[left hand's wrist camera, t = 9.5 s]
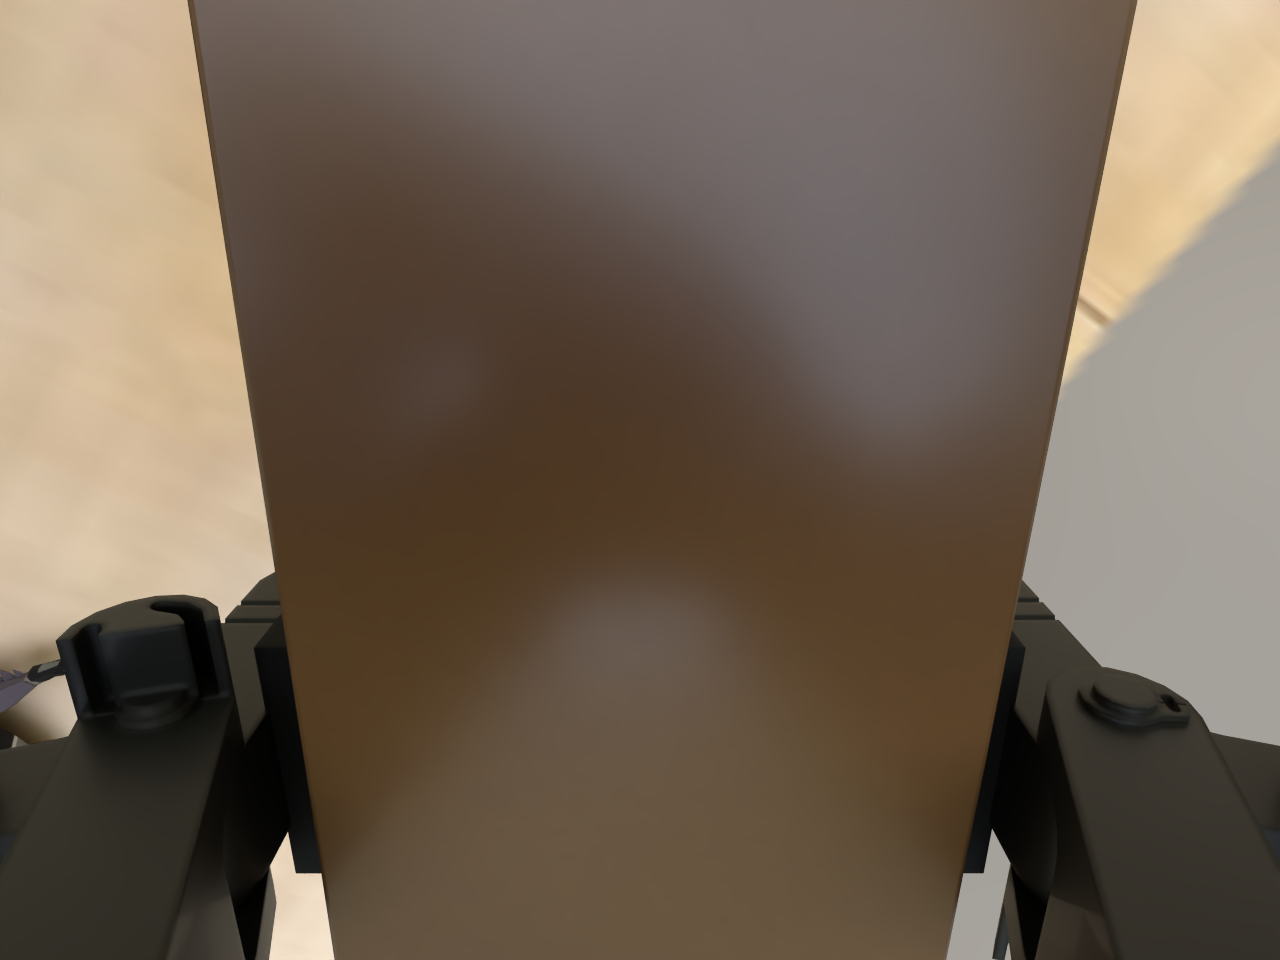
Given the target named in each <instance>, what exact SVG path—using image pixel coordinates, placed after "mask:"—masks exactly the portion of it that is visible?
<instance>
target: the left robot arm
mask: <svg viewBox="0 0 1280 960" xmlns="http://www.w3.org/2000/svg"><path fill="white" fill-rule="evenodd" d="M56 644H57V647H58V651H59V654H60V658H61V661H62V665H63V668H64V672H65V675H66V679H67V682H68V686H69V690H70V693H71V697H72V700H73V704H74V707H75V711H76V714H77V718H78V719H77V721H76V723H75V725H74V727H73V729H72V731H71V732H70V734H69V736H68V737H64V738H60V739H55V740H50V741H45V742H39V743H34V744H29V745H23V746H18V747H13V748H8V749H2V750H0V960H269V955H270V947H271V940H272V932H273V925H274V917H275V909H276V897H275V890H274V884H273V879H272V874H271V869H270V865H271V863H272V861H273V859H274V857H275V855H276V853H277V851H278V849H279V847H280V846H281V844H282V842H283V840H284V838H285V836H286V834H287V832H288V834H289V839H290V844H291V850H292V855H293V860H294V866H295V871H296V873H321V867H320V860H319V854H318V847H317V841H316V834H315V828H314V821H313V815H312V808H311V802H310V795H309V789H308V782H307V776H306V769H305V763H304V756H303V750H302V743H301V737H300V730H299V724H298V717H297V710H296V704H295V697H294V691H293V684H292V678H291V671H290V665H289V658H288V652H287V645H286V639H285V632H284V626H283V619H282V613H281V606H280V600H279V593H278V587H277V580H276V574H275V572H274V573H272V574H271V575H269V576H267V577H265V578H263V579H262V580H260V581H259V582H258V583H257V584H256V586H255V587H254V588H253V589H252V590H251V591H250V592H249V593H248V594H247V595H246V596H245V598H244V599H243V600H242V601H241V605H237V606H236V607H235V609H234V610H233V611H232V612H231V613H230V614H229V615H228V616H227V617H226V618H225V623H221V621H220V616H219V612H218V607H217V606H215V605H214V604H212V603H211V602H210V601H208V600H207V599H205V598H199V597H194V596H188V595H166V596H153V597H148V598H143V599H138V600H133V601H128V602H124V603H121V604H118V605H116V606H113V607H110V608H107V609H104V610H101V611H98V612H96V613H94V614H92V615H90V616H88V617H87V618H85V619H83V620H81V621H79V622H77V623H76V624H74V625H72V626H71V627H70V628H69V629H68V630H66V631H65V632H64V633H63V634H62V635H61V636H60V637H59V638H58V639H57V640H56ZM992 829H993V831H994V833H995V835H996V836H997V838H998V840H999V842H1000V844H1001V846H1002V848H1003V850H1004V851H1005V853H1006V855H1007V857H1008V859H1009V861H1010V863H1011V864H1010V869H1009V874H1008V879H1007V884H1006V889H1005V894H1004V899H1003V904H1002V909H1001V914H1000V918H999V924H998V928H997V933H996V938H995V944H994V951H993V957H992V958H993V959H996V960H1004V959H1005V954H1006V950H1007V945H1008V943H1009V945H1010V953H1011V960H1280V746H1277V745H1272V744H1267V743H1261V742H1256V741H1250V740H1245V739H1240V738H1235V737H1229V736H1224V735H1220V734H1216V733H1212V732H1210V731H1209V729H1208V727H1207V726H1206V724H1205V722H1204V720H1203V718H1202V717H1201V715H1200V714H1199V713H1198V712H1197V711H1196V710H1195V709H1194V707H1193V706H1192V705H1191V704H1190V703H1189V702H1188V701H1187V700H1186V699H1184V698H1183V697H1181V696H1179V695H1178V694H1176V693H1175V692H1173V691H1172V690H1170V689H1169V688H1167V687H1166V686H1164V685H1161V684H1159V683H1157V682H1154V681H1152V680H1149V679H1147V678H1144V677H1142V676H1140V675H1137V674H1133V673H1129V672H1125V671H1120V670H1116V669H1112V668H1107V667H1101V665H1100V664H1099V663H1098V662H1097V661H1096V660H1095V659H1094V658H1093V657H1092V656H1091V655H1090V653H1089V652H1088V651H1087V650H1086V649H1085V648H1084V647H1083V646H1082V645H1081V644H1080V643H1079V641H1078V640H1077V639H1076V638H1075V637H1074V636H1073V635H1072V634H1071V633H1070V632H1069V631H1068V630H1067V628H1066V627H1065V626H1064V625H1063V624H1062V623H1061V622H1060V621H1059V620H1055V615H1054V614H1053V613H1052V612H1051V611H1050V610H1049V609H1048V608H1047V607H1046V605H1045V604H1044V603H1042V602H1039V598H1038V597H1037V596H1036V595H1035V593H1034V592H1033V591H1032V590H1031V589H1030V588H1029V587H1028V586H1027V585H1026V584H1025V583H1024V581H1023V580H1022V581H1021V586H1020V591H1019V596H1018V601H1017V606H1016V611H1015V616H1014V621H1013V626H1012V631H1011V637H1010V642H1009V647H1008V652H1007V657H1006V662H1005V667H1004V672H1003V677H1002V682H1001V687H1000V692H999V697H998V702H997V707H996V712H995V717H994V722H993V727H992V732H991V737H990V742H989V747H988V752H987V757H986V762H985V767H984V772H983V777H982V782H981V787H980V792H979V797H978V802H977V807H976V812H975V817H974V822H973V827H972V832H971V837H970V842H969V847H968V852H967V857H966V862H965V867H964V872H963V873H984V868H985V863H986V857H987V852H988V847H989V841H990V836H991V831H992Z"/></svg>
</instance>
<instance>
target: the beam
mask: <svg viewBox="0 0 1280 960" xmlns="http://www.w3.org/2000/svg"><path fill="white" fill-rule="evenodd" d="M1136 5H1137V0H188V6H189V13H190V19H191V26H192V32H193V39H194V45H195V52H196V58H197V65H198V72H199V78H200V85H201V91H202V98H203V104H204V111H205V117H206V124H207V130H208V137H209V143H210V150H211V156H212V163H213V169H214V176H215V182H216V189H217V195H218V202H219V208H220V215H221V221H222V228H223V235H224V241H225V248H226V254H227V261H228V267H229V274H230V280H231V287H232V293H233V300H234V306H235V313H236V319H237V326H238V332H239V339H240V345H241V352H242V358H243V365H244V371H245V378H246V384H247V391H248V398H249V404H250V411H251V417H252V424H253V430H254V437H255V443H256V450H257V456H258V463H259V469H260V476H261V482H262V489H263V495H264V502H265V508H266V515H267V521H268V528H269V534H270V541H271V547H272V554H273V561H274V567H275V574H276V580H277V587H278V593H279V600H280V606H281V613H282V619H283V626H284V632H285V639H286V645H287V652H288V658H289V665H290V671H291V678H292V684H293V691H294V697H295V704H296V710H297V717H298V724H299V730H300V737H301V743H302V750H303V756H304V763H305V769H306V776H307V782H308V789H309V795H310V802H311V808H312V815H313V821H314V828H315V834H316V841H317V847H318V854H319V860H320V867H321V874H322V880H323V887H324V893H325V900H326V906H327V913H328V919H329V926H330V932H331V939H332V945H333V952H334V958H335V960H946V957H947V952H948V947H949V942H950V937H951V932H952V927H953V922H954V917H955V912H956V907H957V902H958V897H959V892H960V887H961V882H962V877H963V872H964V867H965V862H966V857H967V852H968V847H969V842H970V837H971V832H972V827H973V822H974V817H975V812H976V807H977V802H978V797H979V792H980V787H981V782H982V777H983V772H984V767H985V762H986V757H987V752H988V747H989V742H990V737H991V732H992V727H993V722H994V717H995V712H996V707H997V702H998V697H999V692H1000V687H1001V682H1002V677H1003V672H1004V667H1005V662H1006V657H1007V652H1008V647H1009V642H1010V637H1011V631H1012V626H1013V621H1014V616H1015V611H1016V606H1017V601H1018V596H1019V591H1020V586H1021V581H1022V576H1023V571H1024V566H1025V561H1026V556H1027V551H1028V546H1029V541H1030V536H1031V531H1032V526H1033V521H1034V516H1035V511H1036V506H1037V501H1038V496H1039V491H1040V486H1041V481H1042V476H1043V471H1044V466H1045V461H1046V456H1047V451H1048V446H1049V441H1050V436H1051V431H1052V426H1053V421H1054V416H1055V411H1056V406H1057V401H1058V396H1059V391H1060V386H1061V381H1062V376H1063V371H1064V366H1065V361H1066V356H1067V351H1068V346H1069V341H1070V336H1071V331H1072V326H1073V321H1074V315H1075V310H1076V305H1077V300H1078V295H1079V290H1080V285H1081V280H1082V275H1083V270H1084V265H1085V260H1086V255H1087V250H1088V245H1089V240H1090V235H1091V230H1092V225H1093V220H1094V215H1095V210H1096V205H1097V200H1098V195H1099V190H1100V185H1101V180H1102V175H1103V170H1104V165H1105V160H1106V155H1107V150H1108V145H1109V140H1110V135H1111V130H1112V125H1113V120H1114V115H1115V110H1116V105H1117V100H1118V95H1119V90H1120V85H1121V80H1122V75H1123V70H1124V65H1125V60H1126V55H1127V50H1128V45H1129V40H1130V35H1131V30H1132V25H1133V20H1134V15H1135V10H1136Z"/></svg>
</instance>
